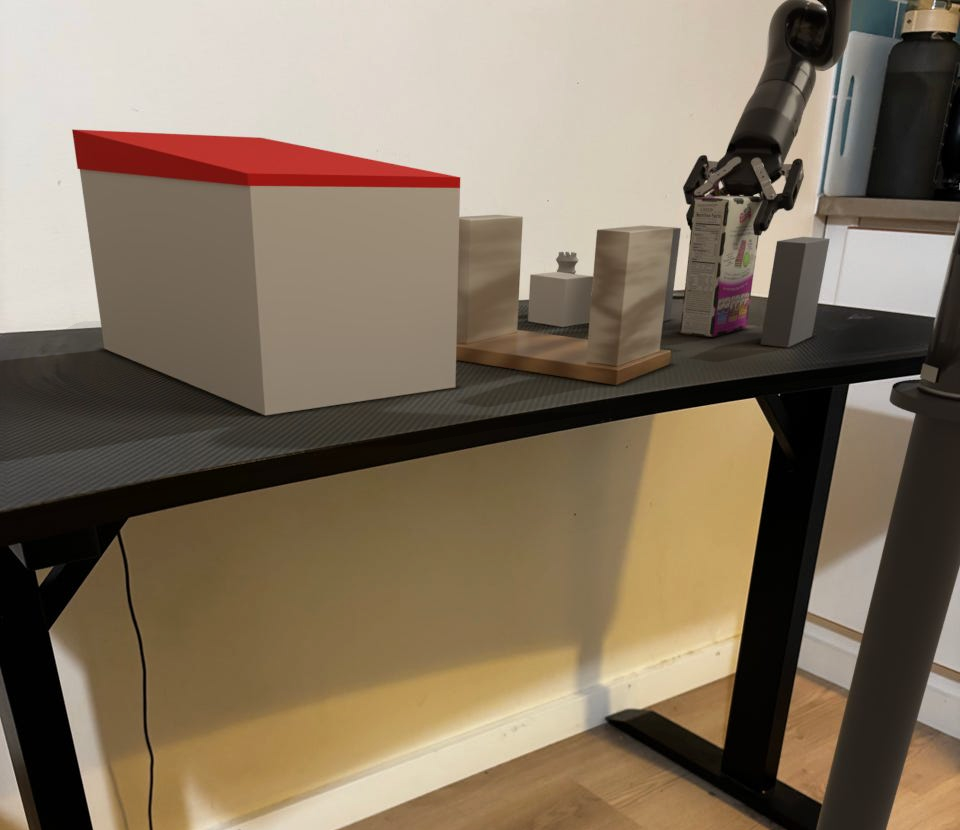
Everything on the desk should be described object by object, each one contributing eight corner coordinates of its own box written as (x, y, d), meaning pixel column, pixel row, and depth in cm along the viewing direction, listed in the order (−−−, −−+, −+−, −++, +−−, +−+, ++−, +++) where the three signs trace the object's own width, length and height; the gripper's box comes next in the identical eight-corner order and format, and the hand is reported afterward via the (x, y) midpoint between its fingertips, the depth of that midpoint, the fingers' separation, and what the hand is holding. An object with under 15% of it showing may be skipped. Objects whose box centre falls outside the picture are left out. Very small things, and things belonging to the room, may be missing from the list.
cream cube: (562, 327, 127) (565, 279, 125) (527, 321, 131) (530, 274, 128) (589, 322, 131) (593, 276, 129) (555, 317, 135) (557, 271, 132)
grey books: (811, 336, 127) (829, 238, 122) (788, 347, 119) (806, 243, 113) (647, 316, 138) (657, 226, 133) (614, 325, 130) (623, 229, 124)
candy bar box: (713, 324, 134) (730, 194, 126) (747, 329, 131) (767, 196, 124) (676, 333, 126) (693, 195, 118) (711, 338, 123) (730, 197, 116)
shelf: (669, 364, 107) (686, 227, 100) (616, 385, 96) (630, 233, 90) (492, 339, 117) (497, 213, 111) (426, 355, 106) (427, 217, 100)
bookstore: (271, 332, 116) (260, 137, 107) (455, 387, 93) (461, 143, 83) (101, 348, 104) (71, 129, 94) (263, 415, 80) (244, 133, 71)
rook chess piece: (585, 313, 139) (589, 253, 136) (560, 314, 137) (564, 254, 133) (566, 308, 143) (570, 250, 139) (542, 310, 140) (545, 251, 137)
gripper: (710, 104, 125) (665, 202, 122) (820, 105, 119) (776, 209, 115) (718, 151, 132) (676, 245, 128) (823, 154, 125) (781, 254, 122)
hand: (723, 228), depth 122 cm, fingers open, 8 cm apart
